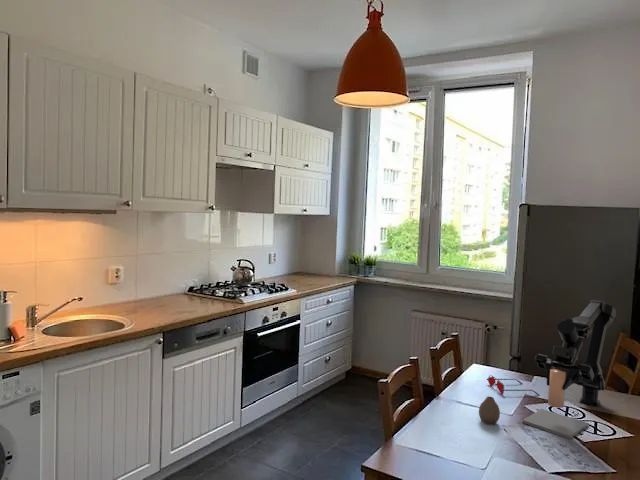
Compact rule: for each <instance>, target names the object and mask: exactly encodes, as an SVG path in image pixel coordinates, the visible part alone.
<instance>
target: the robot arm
mask: <svg viewBox="0 0 640 480" xmlns="http://www.w3.org/2000/svg"><path fill="white" fill-rule="evenodd" d="M616 315H617V309H616V308H615V307H614V306H613V305H610V304H607V303H606V302H605V301H602V300H595V299H592V300H589V302H588V305H587V306H586V307H585V308H584V310H583V311H582V312H581V313H580V314H579V316H575V317H572V318H568V317H567V318H566V320H563V321H561V322H559V323H558V324H557V326H556V328H557V331H558V333H559V335H560V338H561V340H562V342H563V343H562V345H561V346H560V345H553V349H552V352H551V354H552V356H553V355H554V356H553V358H554V360H552V358H551V359H550V358H549V355H545V354H541V353H537V354H536V355H535V357H534V361H535V364H536V366H537V367H538V369H542V370H545V372H546V386H548V387H549V380H550V369H555V368H556V369H560V370H564V371H568V374H567V375H566V381H565V383H564V385H563V390H565V391H566V389H568V388H569V387H571V386H572V385H573V384H574V383H576V385H578V386H581V387H582V388H581V397H580V399H579V401H578V402H579V403H581V404H587V405H591V406H596V407H599V404H600V402H601V401H600V400H599V392H600V391H605V387H606V381H605V379H604V376H603V370H602V368H601V365H600V362H601V357H602V353H603V348H604V342H605V337H606V333H607V329H608V328H609V327H610V326H611V325H612V324H613V322H614V319H615V318H616ZM592 325H593V326H592ZM589 336H590V341H589V344H588V345H589V346H588V350H587V354H586V359H585V360H584V361H583V362H582V361H581V362H580V363H578V364H577V366H575V363H576V362H578V359H579V358H578V356H579V353H580V351H581V349H582V348H583V345H584V344H583V340H582V338H583V339H588V338H589ZM555 360H556V361H555Z"/></svg>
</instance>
